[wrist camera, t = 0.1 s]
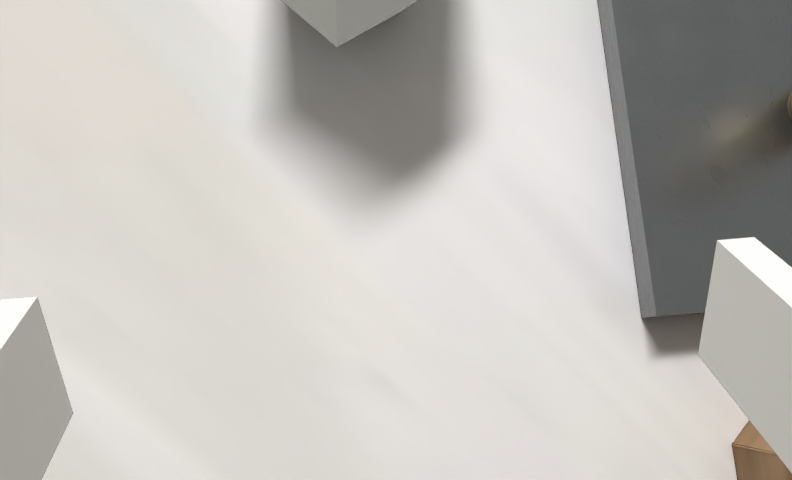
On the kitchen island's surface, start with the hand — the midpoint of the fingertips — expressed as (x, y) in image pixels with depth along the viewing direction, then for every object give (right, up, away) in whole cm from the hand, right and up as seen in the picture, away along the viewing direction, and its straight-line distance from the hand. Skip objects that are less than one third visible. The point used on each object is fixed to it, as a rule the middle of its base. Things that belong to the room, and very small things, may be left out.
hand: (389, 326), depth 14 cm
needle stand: (+18, +7, +18) cm, 26 cm away
